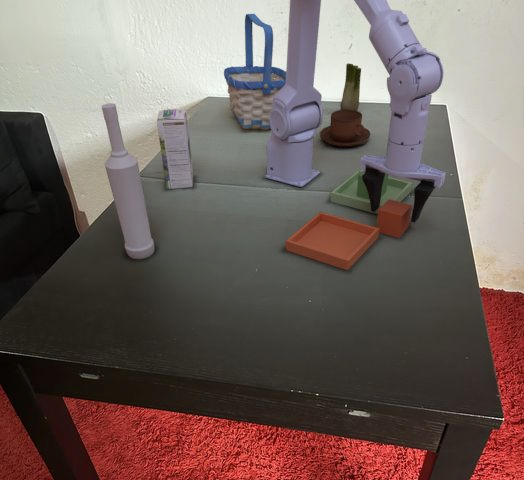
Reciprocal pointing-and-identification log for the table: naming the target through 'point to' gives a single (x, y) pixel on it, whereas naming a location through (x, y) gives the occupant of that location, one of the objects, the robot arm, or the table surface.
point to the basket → (254, 81)
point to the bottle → (127, 190)
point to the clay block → (394, 218)
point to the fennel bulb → (351, 88)
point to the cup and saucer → (345, 129)
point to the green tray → (348, 197)
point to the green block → (362, 188)
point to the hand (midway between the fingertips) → (394, 214)
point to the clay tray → (333, 240)
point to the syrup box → (175, 148)
